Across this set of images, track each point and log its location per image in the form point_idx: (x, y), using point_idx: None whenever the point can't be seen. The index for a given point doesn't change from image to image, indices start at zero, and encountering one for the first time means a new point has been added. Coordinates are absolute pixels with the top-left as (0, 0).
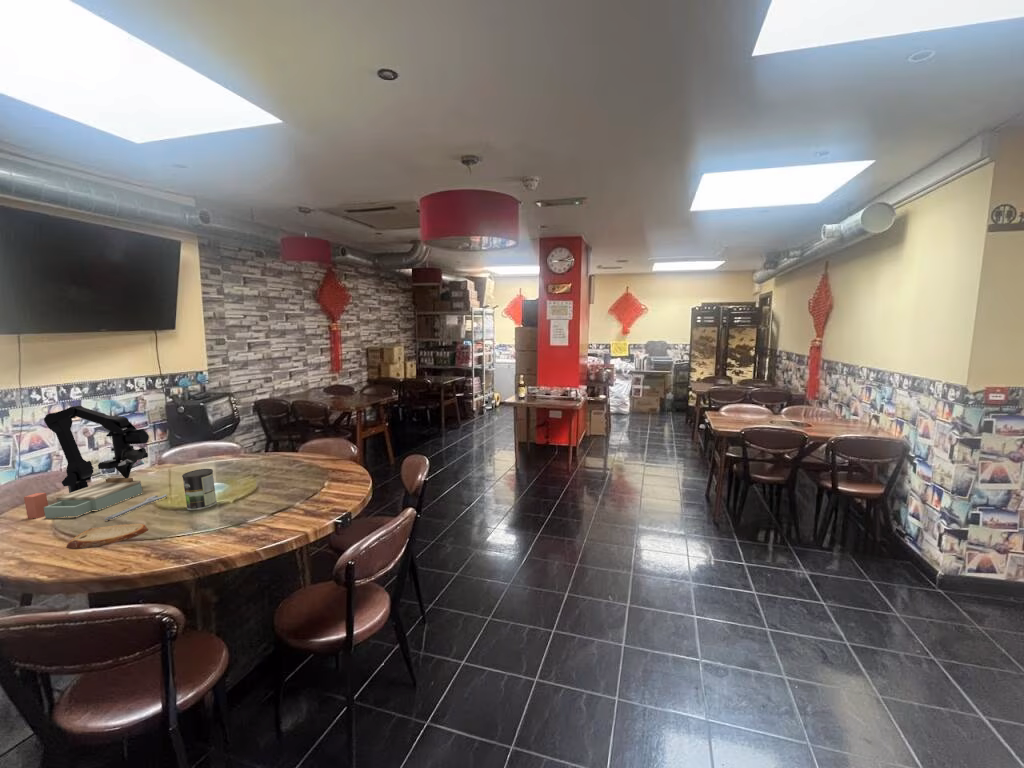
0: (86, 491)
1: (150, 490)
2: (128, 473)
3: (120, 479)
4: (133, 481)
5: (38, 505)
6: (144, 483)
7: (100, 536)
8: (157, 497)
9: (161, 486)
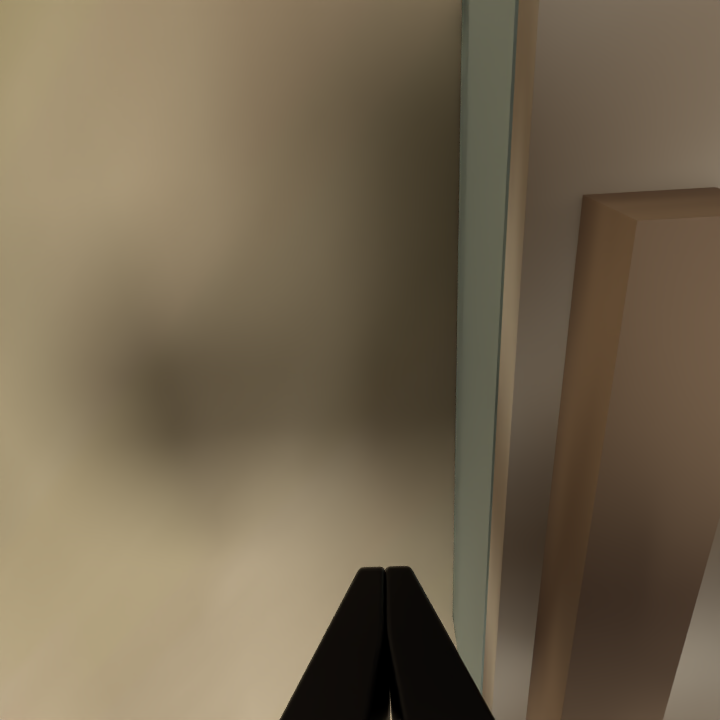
0: None
1: (256, 36)
2: (364, 670)
3: (699, 545)
4: (616, 147)
5: None
6: (15, 530)
7: None
8: None
9: (10, 28)
